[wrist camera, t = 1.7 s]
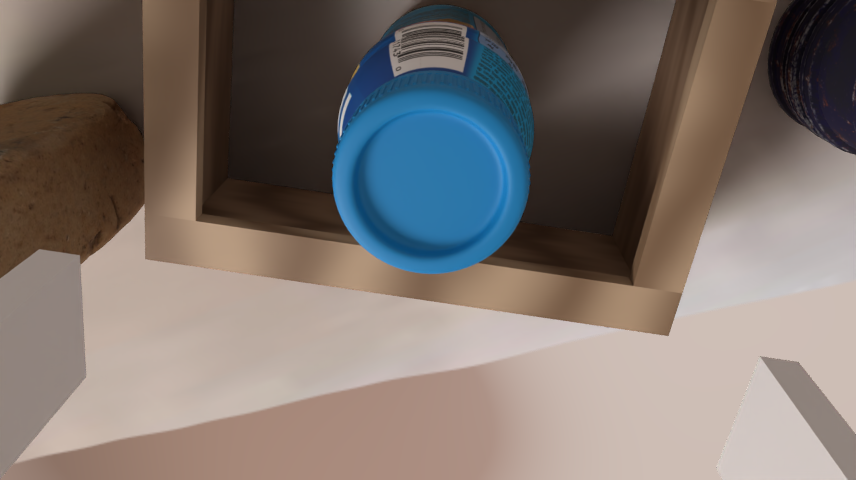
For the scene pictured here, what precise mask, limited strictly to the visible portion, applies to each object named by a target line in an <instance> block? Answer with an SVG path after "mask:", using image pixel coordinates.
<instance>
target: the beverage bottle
mask: <svg viewBox="0 0 856 480" xmlns="http://www.w3.org/2000/svg"><path fill="white" fill-rule="evenodd" d="M533 140H534V119H533V113H532V108H531V104H530V99H529V94H528V90H527V87H526V84H525V81H524V79H523V76H522V74H521V72H520V70H519V68H518V67H517V65H516V63H515V62H514V60H513V59H512V58H511V56H510V55H509V54H508V51H507V49H506V46H505V44H504V42H503V41H502V39H501V37H500V36H499V34H498V33H497V32H496V30H495V29H494V28H493V27H492V26H491V25H490V24H489V23H488V22H487V21H486V20H484V19H483V18H482V17H480V16H479V15H477V14H475V13H473V12H471V11H469V10H467V9H464V8H461V7H457V6H452V5H431V6H426V7H422V8H419V9H416V10H414V11H411V12H409V13H408V14H406V15H404V16H403V17H401V18H400V19H398V20H397V21H396V22H395V23H394V24H393V25H392V26H391V27H390V28H389V29H388V30H387V31H386V33H385V34H384V35H383V37H382V38H381V40H380V41H379V42H378V43H377V44H376V45H374V46H373V47H372V48H371V49H370V50H369V51H368V53H367V54H366V55H365V56H364V57H363V59H362V60H361V62H360V63H359V65H358V66H357V68H356V70H355V72H354V74H353V76H352V78H351V80H350V83H349V85H348V87H347V89H346V91H345V94H344V97H343V99H342V103H341V106H340V111H339V117H338V144H337V146H336V148H337V149H336V151H335V153H334V155H335V158H334V160H333V164H334V165H333V168H332V171H333V176H332V181H333V185H332V187H333V192H334V198H335V202H336V205H337V209H338V211H339V214H340V216H341V218H342V220H343V222H344V224H345V226H346V227H347V229H348V231H349V232H350V233H351V235H352V236H353V237H354V238H355V240H356V241H357V242H358V243H359V244H360V245H361V246H362V247H363V248H364V249H365V250H367V251H368V252H369V253H370V254H372V255H373V256H375V257H376V258H378V259H379V260H381V261H383V262H385V263H387V264H389V265H391V266H393V267H396V268H399V269H402V270H406V271H410V272H415V273H423V274H441V273H449V272H454V271H458V270H461V269H465V268H467V267H470V266H472V265H475V264H477V263H479V262H480V261H482V260H484V259H486V258H487V257H489V256H490V255H491V254H493V253H494V252H495V251H496V250H498V249H499V248H500V247H501V246H502V245H503V244H504V243H505V242H506V241H507V239H508V238H509V237H510V236H511V234H512V233H513V232H514V230H515V228H516V227H517V225H518V223H519V221H520V219H521V217H522V215H523V212H524V209H525V206H526V203H527V201H528V194H529V185H530V184H531V183H530V179H529V178H530V177H531V174H530V171H529V169H530V164H529V159H530V156H531V152H532V147H533Z"/></svg>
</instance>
